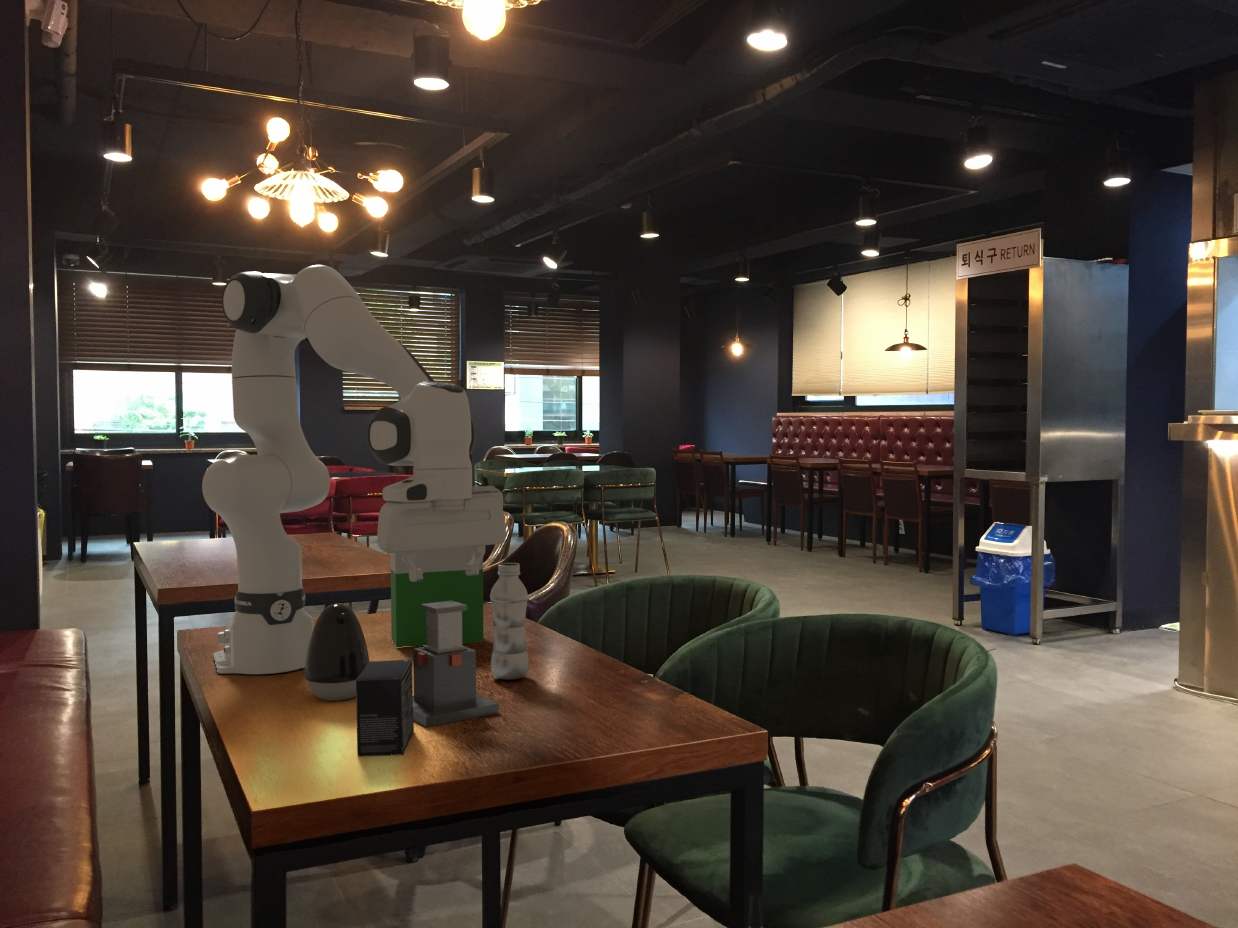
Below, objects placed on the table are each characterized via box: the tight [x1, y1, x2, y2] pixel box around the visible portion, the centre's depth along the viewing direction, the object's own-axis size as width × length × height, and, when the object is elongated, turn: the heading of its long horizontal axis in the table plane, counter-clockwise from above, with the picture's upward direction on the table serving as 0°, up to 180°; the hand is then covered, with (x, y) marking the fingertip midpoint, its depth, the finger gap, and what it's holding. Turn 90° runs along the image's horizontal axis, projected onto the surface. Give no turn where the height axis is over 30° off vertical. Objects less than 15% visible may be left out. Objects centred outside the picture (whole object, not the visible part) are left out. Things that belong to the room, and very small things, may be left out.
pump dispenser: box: [304, 603, 371, 702], centre depth 156 cm, size 10×10×15 cm
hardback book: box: [390, 546, 485, 648], centre depth 198 cm, size 18×7×24 cm, turn 111°
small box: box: [355, 659, 415, 757], centre depth 132 cm, size 11×6×10 cm, turn 5°
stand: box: [412, 645, 500, 728], centre depth 147 cm, size 12×12×10 cm
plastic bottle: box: [489, 562, 530, 681], centre depth 167 cm, size 6×7×20 cm
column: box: [421, 601, 467, 655], centre depth 147 cm, size 5×5×15 cm
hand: (444, 577), depth 147 cm, fingers open, 8 cm apart
